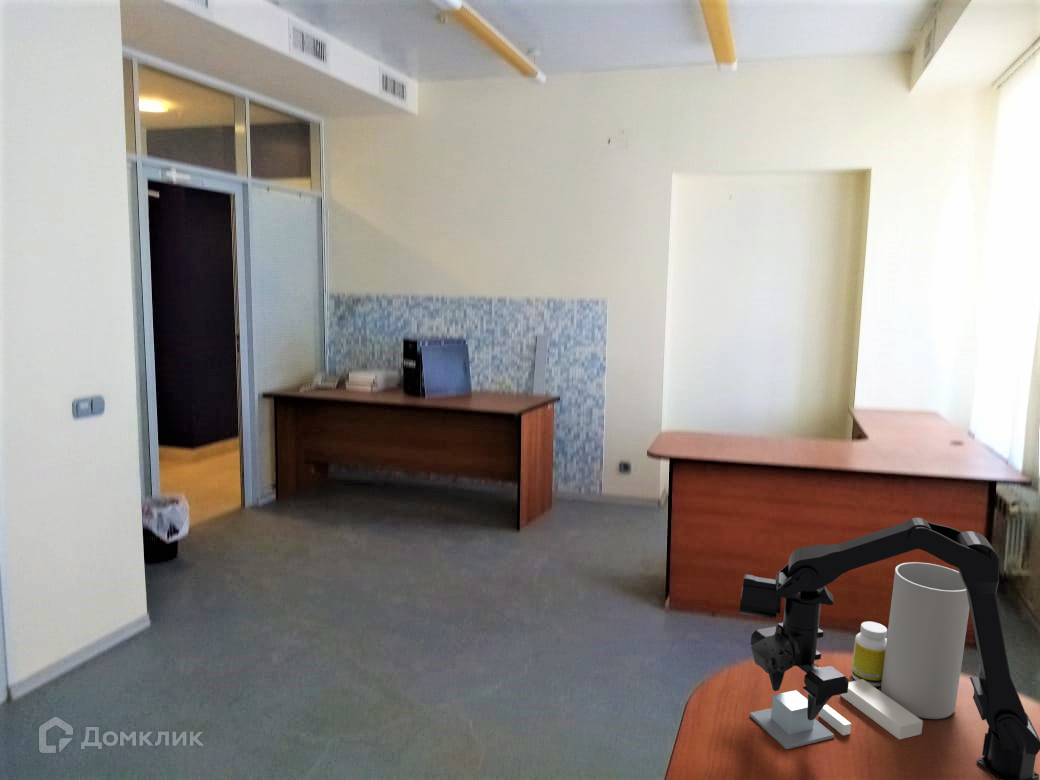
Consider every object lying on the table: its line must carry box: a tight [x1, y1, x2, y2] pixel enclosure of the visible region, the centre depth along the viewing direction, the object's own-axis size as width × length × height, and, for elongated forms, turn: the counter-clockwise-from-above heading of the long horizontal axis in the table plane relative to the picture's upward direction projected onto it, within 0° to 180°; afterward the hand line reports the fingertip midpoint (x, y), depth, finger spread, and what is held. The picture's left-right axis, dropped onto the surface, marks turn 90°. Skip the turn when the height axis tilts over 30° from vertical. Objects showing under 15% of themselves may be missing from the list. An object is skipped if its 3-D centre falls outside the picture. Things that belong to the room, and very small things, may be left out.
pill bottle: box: [851, 621, 888, 687], centre depth 153 cm, size 6×6×11 cm
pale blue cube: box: [771, 689, 814, 735], centre depth 138 cm, size 5×5×4 cm
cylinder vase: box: [880, 561, 970, 720], centre depth 145 cm, size 12×12×25 cm
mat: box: [749, 707, 835, 750], centre depth 138 cm, size 10×10×1 cm
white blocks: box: [818, 679, 924, 740], centre depth 141 cm, size 14×14×2 cm
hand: (792, 704), depth 137 cm, fingers open, 9 cm apart
